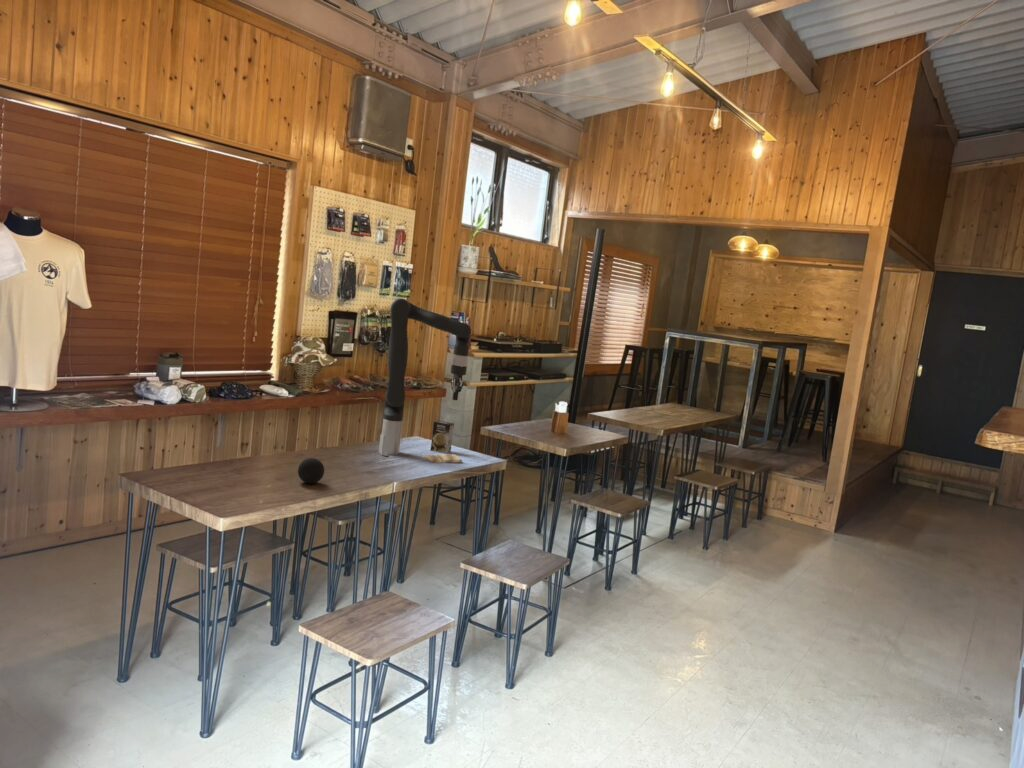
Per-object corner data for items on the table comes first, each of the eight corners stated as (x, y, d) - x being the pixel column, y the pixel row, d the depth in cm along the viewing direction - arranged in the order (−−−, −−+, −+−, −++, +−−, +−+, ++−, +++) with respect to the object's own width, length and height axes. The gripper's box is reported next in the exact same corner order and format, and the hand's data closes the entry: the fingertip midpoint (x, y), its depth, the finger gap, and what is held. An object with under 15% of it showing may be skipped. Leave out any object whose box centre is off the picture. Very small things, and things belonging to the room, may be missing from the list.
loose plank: (443, 462, 344) (444, 460, 344) (436, 457, 354) (437, 454, 354) (461, 462, 347) (462, 459, 347) (454, 456, 357) (454, 454, 357)
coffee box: (429, 452, 367) (433, 421, 365) (434, 450, 373) (438, 419, 371) (446, 455, 364) (449, 424, 363) (451, 453, 370) (454, 422, 369)
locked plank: (431, 463, 341) (431, 460, 341) (424, 457, 351) (424, 455, 351) (443, 463, 344) (443, 460, 344) (436, 457, 354) (436, 455, 354)
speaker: (328, 484, 286) (330, 460, 285) (306, 487, 278) (308, 462, 277) (313, 478, 292) (315, 454, 291) (291, 481, 285) (293, 456, 284)
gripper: (447, 362, 353) (443, 397, 355) (456, 365, 341) (451, 401, 343) (462, 363, 356) (457, 398, 358) (471, 367, 344) (466, 402, 346)
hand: (454, 399), depth 351 cm, fingers closed
